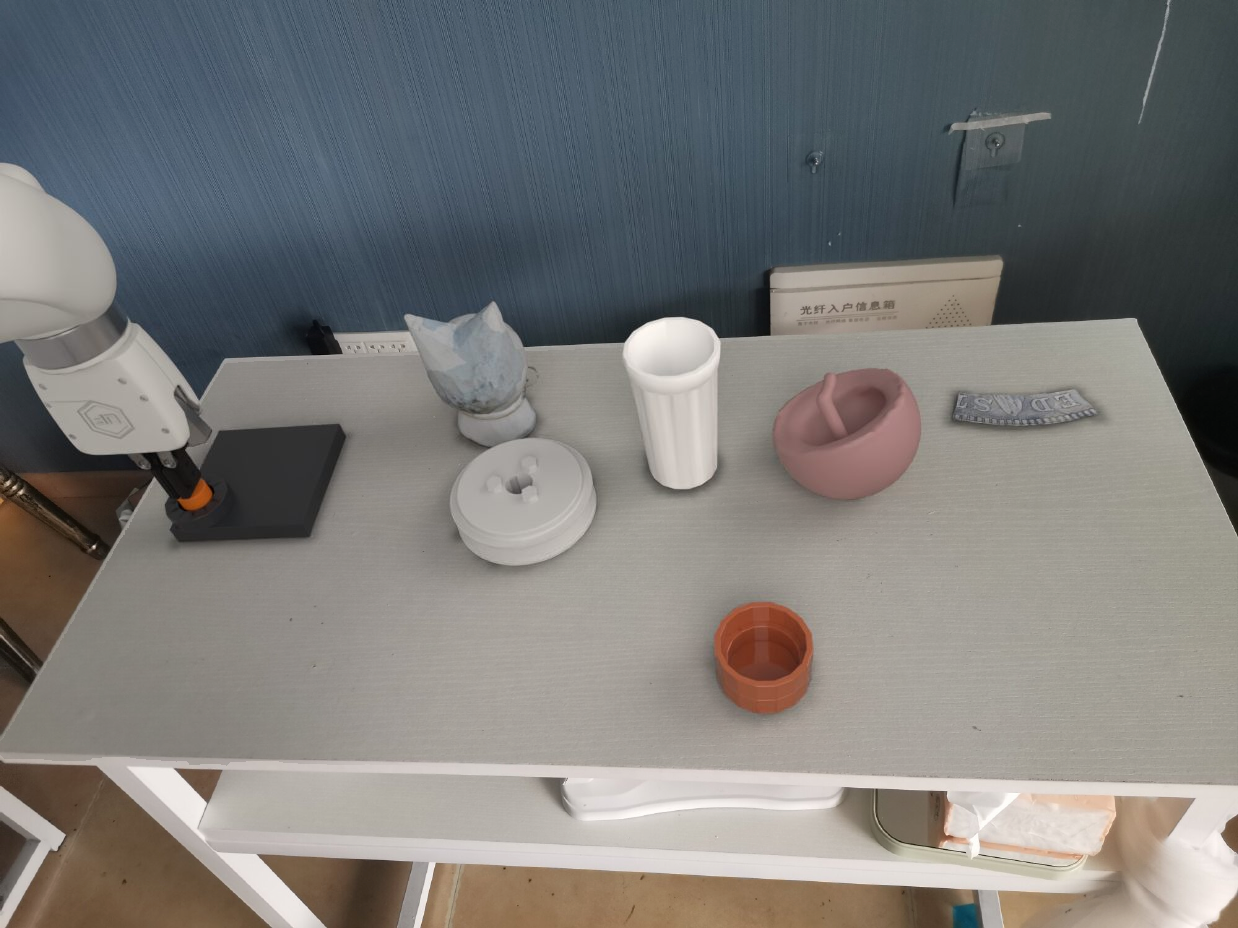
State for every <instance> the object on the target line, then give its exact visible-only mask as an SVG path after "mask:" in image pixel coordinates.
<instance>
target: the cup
mask: <svg viewBox="0 0 1238 928" xmlns="http://www.w3.org/2000/svg"><path fill="white" fill-rule="evenodd" d="M721 345H722V342H721V340H720V338H719V337H718V335H717V333H716V332H715V330H714V329H713V328H712V327H710V326H709V325H707V324H705V322H704V323H703V322H702V321H700V320H697V319H693V318H688V317H685V316H677V317H676V316H675V317H674V316H673V317H672V316H671V317H663V318H659V319H656V320H651V321H649V322H646V323H645V324H643V325H641V326H640V327H638V328H636V329H635V330H633V331H632V332H631V334H630V335H629V337H628V338H627V339H626V340H625V342H624V343H623V346H622V352H621V360H622V364H623V366H624V369H625V370H626V374H627V375H628V378H629V383H630V387H631V392H632V396H633V400H634V401H633V402H634V406H635V409H636V414H637V415H636V416H637V418H638V423H639V428H640V432H641V437H642V441H643V446H644V449H645V454H646V459H647V463H648V467H649V471H650V473H651V475H652V477H653V479H655V481H656V482H658V483H659V484H660V485H662V486H664V487H667V488H670V489H674V490H690V489H694V488H696V487H700V486H702V485H703V484H705V483H706V482H708V481H709V480H710V479H712V477H713V476H714V474H715V473H716V471H717V469H718V409H719V408H718V403H719V402H718V399H719V397H718V396H719V395H718V393H719V392H718V391H719V388H718V386H719V385H718V384H719V383H718V381H719V380H718V378H719V377H718V375H719V371H718V370H719V369H718V367H719V366H720V361H721V347H722V346H721Z"/></svg>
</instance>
